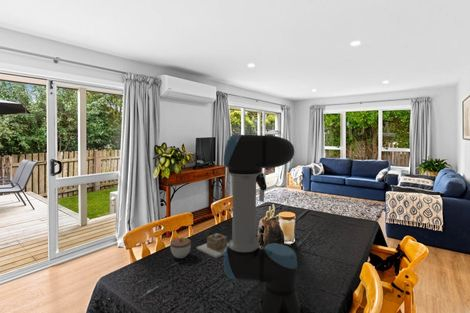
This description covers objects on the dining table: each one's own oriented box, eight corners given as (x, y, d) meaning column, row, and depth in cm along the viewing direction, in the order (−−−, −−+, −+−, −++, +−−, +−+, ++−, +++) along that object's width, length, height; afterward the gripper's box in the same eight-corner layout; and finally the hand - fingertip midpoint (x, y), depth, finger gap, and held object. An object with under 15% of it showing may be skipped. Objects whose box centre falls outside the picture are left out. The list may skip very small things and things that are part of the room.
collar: (216, 251, 143) (216, 240, 143) (206, 246, 149) (206, 236, 148) (226, 246, 149) (227, 236, 149) (217, 242, 154) (217, 232, 154)
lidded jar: (166, 257, 138) (165, 240, 137) (179, 249, 148) (179, 233, 147) (182, 262, 133) (182, 244, 132) (194, 253, 143) (194, 237, 142)
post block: (216, 258, 138) (216, 243, 137) (196, 249, 148) (196, 235, 148) (236, 248, 149) (237, 234, 149) (217, 240, 160) (217, 227, 160)
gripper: (245, 168, 132) (244, 209, 134) (273, 164, 150) (272, 200, 152) (234, 166, 137) (233, 206, 139) (262, 163, 155) (262, 198, 157)
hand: (254, 203), depth 145 cm, fingers open, 13 cm apart
